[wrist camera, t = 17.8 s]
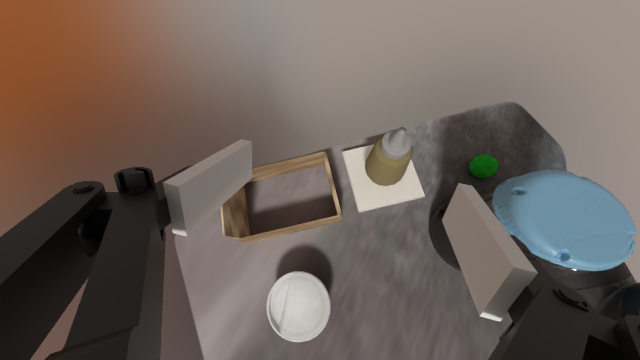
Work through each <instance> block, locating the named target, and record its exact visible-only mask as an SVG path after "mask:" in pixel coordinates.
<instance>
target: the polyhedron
mask: <svg viewBox="0 0 640 360" xmlns="http://www.w3.org/2000/svg"><path fill="white" fill-rule="evenodd" d="M469 165H470V172H471V173H472V174H473V175H474V176H476V177H479V178H486V177H490V176H493V175H494V174H495V172H496V171H497V170H498V161H497V160H496V159H495V157H493V156H491V155H487V154H482V155H479V156H475V157H474V158H473V160H472V161H471V162H470V164H469Z"/></svg>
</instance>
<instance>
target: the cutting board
mask: <svg viewBox="0 0 640 360" xmlns="http://www.w3.org/2000/svg"><path fill="white" fill-rule="evenodd" d="M373 146H374V144H373V145H369V146H364V147H360V148H356V149H352V150H348V151H344V152H342V155H343V159H344V162H345V166H346V170H347V173H348V177H349V180H350V184H351V188H352V191H353V195H354V198H355V202H356V206H357V209H358V213H359V212H364V211H368V210H372V209H376V208H380V207H385V206H389V205H393V204H397V203H402V202H406V201H410V200H414V199H418V198H423V197H424V196H425V195H424V192H423V189H422V187H421V184H420V182H419V179H418V176H417V174H416V171H415V168H414V166H413V163H412V160H410V162H409V165H408V167H407V169H406V172H405V174H404V176H403V177H402V179H401V180H400V181H399V182H397V183H396V184H394V185H390V186H381V185H377V184H375V183H374V182H372V181H371V179H370V178H369V177H368V176H367V174H366V170H365V162H366V159H367V157H368V155H369V154H370V152H371V150H372V148H373Z"/></svg>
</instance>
